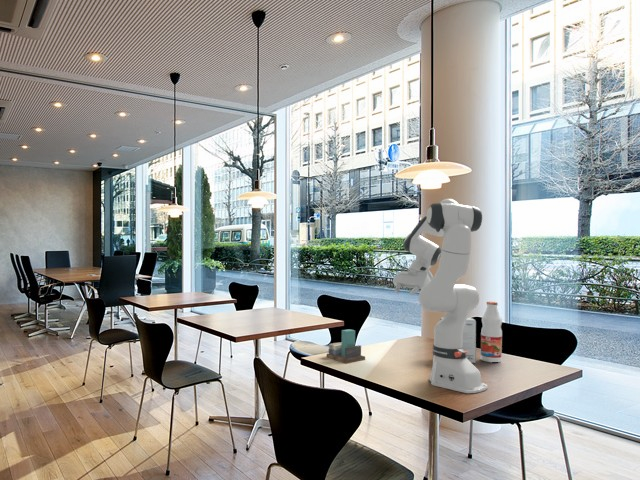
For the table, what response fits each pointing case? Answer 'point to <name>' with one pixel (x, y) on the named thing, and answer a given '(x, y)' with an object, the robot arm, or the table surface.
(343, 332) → the teal rectangular block
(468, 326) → the hard drive box
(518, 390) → the table surface
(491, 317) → the fruit juice
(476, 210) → the robot arm
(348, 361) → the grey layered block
